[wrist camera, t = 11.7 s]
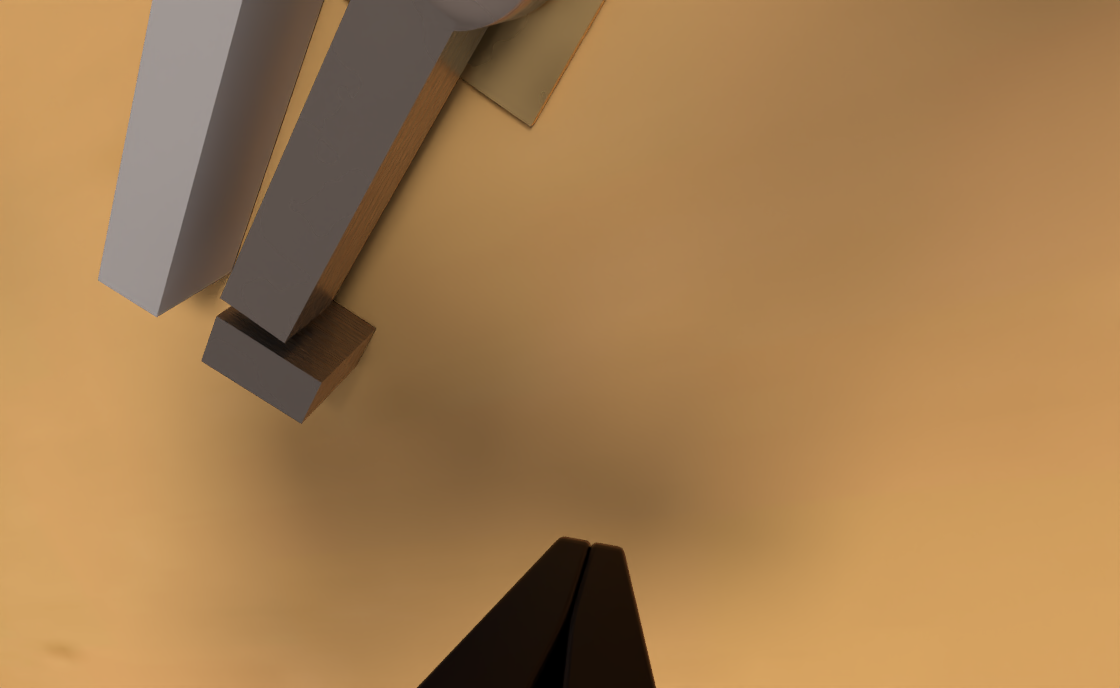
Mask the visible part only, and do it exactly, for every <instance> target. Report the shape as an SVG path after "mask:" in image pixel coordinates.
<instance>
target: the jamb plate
mask: <svg viewBox="0 0 1120 688" xmlns="http://www.w3.org/2000/svg"><path fill="white" fill-rule="evenodd" d="M604 2H605V0H547V1H546V2H545V3H543V4H542V5H541V6H540V7H539V8H537V9H536V10H534V11H533V12H531V13H529V14H528V15H525V16H523V17H521V18H518V19H514V20H510V21H506V22H502V23H498V24H494V25H490V26H488V28H487V30H486V31H485V33H484V35H483V37H482V38H481V40H480V42H479V44H478V45H477V47H476V49H475V51H474V52H473V54H472V56H471V58H470V59H469V61H468V63H467V65H466V66H465V68H464V70H463V72H462V73H461V75H460V78H462V79H463V80H464V81H466V82H467V83H469V84H470V85H472V86H473V87H474V88H476V89H477V90H479V91H480V92H482V93H483V94H484V95H486V96H487V97H489V98H490V99H492V100H493V101H494V102H496V103H497V104H499V105H500V106H502V107H503V108H504V109H506V110H507V111H509V112H510V113H512V114H513V115H514V116H516V117H517V118H519V119H520V120H522V121H523V122H524V123H526V124H527V125H529V126H530V127H531V126H532V125H533V124H534V123H535V122H536V120H537V118H538V116H539V115H540V113H541V111H542V110H543V108H544V106H545V104H546V103H547V101H548V99H549V97H550V96H551V94H552V92H553V90H554V89H555V87H556V85H557V83H558V82H559V80H560V78H561V76H562V75H563V73H564V71H565V70H566V68H567V66H568V64H569V63H570V61H571V59H572V57H573V56H574V54H575V52H576V50H577V49H578V47H579V45H580V43H581V42H582V40H583V38H584V37H585V35H586V33H587V31H588V30H589V28H590V26H591V24H592V23H593V21H594V19H595V17H596V16H597V14H598V12H599V10H600V9H601V7H602V5H603V3H604Z"/></svg>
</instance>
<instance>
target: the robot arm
mask: <svg viewBox="0 0 1120 688" xmlns="http://www.w3.org/2000/svg"><path fill="white" fill-rule="evenodd" d="M417 688H656V686H655V681H654V677H653V673H652V669H651V664H650V660H649V656H648V651H647V647H646V643H645V639H644V634H643V630H642V626H641V621H640V617H639V613H638V609H637V604H636V600H635V596H634V591H633V587H632V583H631V579H630V574H629V570H628V566H627V561H626V557H625V553H624V551H623V549H622V548H621V547H619V546H613V545H608V544H603V543H594V544H593V545H592V546H591V544H590V543H589V542H588V541H586V540H581V539H576V538H570V537H561V538H559V539H558V540H557V541H556V542H555V543H554V544H553V545H552V546H551V547H550V548H549V549H548V550H547V551H546V552H545V553H544V554H543V556H542V557H541V558H540V559H539V560H538V561H537V562H536V563H535V564H534V565H533V566H532V567H531V568H530V569H529V570H528V571H527V572H526V573H525V574H524V576H523V577H522V578H521V579H520V580H519V581H518V582H517V583H516V584H515V585H514V586H513V587H512V588H511V589H510V590H509V591H508V592H507V593H506V595H505V596H504V597H503V598H502V599H501V600H500V601H499V602H498V603H497V604H496V605H495V606H494V607H493V608H492V609H491V610H490V611H489V612H488V613H487V615H486V616H485V617H484V618H483V619H482V620H481V621H480V622H479V623H478V624H477V625H476V626H475V627H474V628H473V629H472V630H471V631H470V632H469V633H468V635H467V636H466V637H465V638H464V639H463V640H462V641H461V642H460V643H459V644H458V645H457V646H456V647H455V648H454V649H453V650H452V651H451V652H450V654H449V655H448V656H447V657H446V658H445V659H444V660H443V661H442V662H441V663H440V664H439V665H438V666H437V667H436V668H435V669H434V670H433V671H432V672H431V674H430V675H429V676H428V677H427V678H426V679H425V680H424V681H423V682H422V683H421V684H420V685H419V686H418V687H417Z"/></svg>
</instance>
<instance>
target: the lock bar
mask: <svg viewBox="0 0 1120 688" xmlns="http://www.w3.org/2000/svg"><path fill="white" fill-rule="evenodd" d="M546 1H547V0H350V2H349V4H348V7H347V9H346V11H345V14H344V16H343V18H342V20H341V23H340V25H339V27H338V30H337V32H336V34H335V36H334V39H333V41H332V43H331V46H330V48H329V50H328V53H327V55H326V57H325V59H324V62H323V64H322V66H321V69H320V71H319V73H318V75H317V78H316V80H315V82H314V85H313V87H312V89H311V91H310V94H309V96H308V98H307V101H306V103H305V105H304V107H303V110H302V112H301V114H300V117H299V119H298V121H297V123H296V126H295V128H294V130H293V133H292V135H291V137H290V139H289V142H288V144H287V146H286V149H285V151H284V153H283V155H282V158H281V160H280V162H279V165H278V167H277V169H276V172H275V174H274V176H273V178H272V181H271V183H270V185H269V188H268V190H267V192H266V194H265V197H264V199H263V201H262V204H261V206H260V208H259V210H258V213H257V215H256V217H255V220H254V222H253V224H252V226H251V229H250V231H249V233H248V236H247V238H246V240H245V242H244V245H243V247H242V249H241V252H240V254H239V256H238V258H237V261H236V263H235V265H234V268H233V270H232V272H231V275H230V277H229V279H228V281H227V284H226V286H225V288H224V291H223V293H222V295H221V297H220V298H221V299H222V300H224V301H225V302H227V303H228V304H229V305H231V306H232V307H234V308H235V309H237V310H238V311H239V312H241V313H242V314H244V315H245V316H247V317H248V318H249V319H251V320H252V321H254V322H255V323H256V324H258V325H259V326H261V327H262V328H264V329H265V330H266V331H268V332H269V333H271V334H272V335H274V336H275V337H276V338H278V339H279V340H281V341H282V342H283V343H285V342H287V341H288V340H289V339H290V338H291V337H293V336H294V335H295V334H296V333H297V332H299V331H300V330H301V329H302V328H303V327H305V326H306V325H307V324H308V323H309V322H311V321H312V320H313V319H314V318H315V317H317V316H318V315H319V314H320V313H321V312H323V311H324V310H325V309H326V308H327V307H329V305H330V304H331V302H332V300H333V298H334V297H335V295H336V293H337V291H338V290H339V288H340V286H341V284H342V283H343V281H344V279H345V277H346V276H347V274H348V272H349V270H350V269H351V267H352V265H353V263H354V261H355V260H356V258H357V256H358V254H359V253H360V251H361V249H362V247H363V246H364V244H365V242H366V240H367V239H368V237H369V235H370V233H371V232H372V230H373V228H374V226H375V225H376V223H377V221H378V219H379V218H380V216H381V214H382V212H383V211H384V209H385V207H386V205H387V204H388V202H389V200H390V198H391V196H392V195H393V193H394V191H395V189H396V188H397V186H398V184H399V182H400V181H401V179H402V177H403V175H404V174H405V172H406V170H407V168H408V167H409V165H410V163H411V161H412V160H413V158H414V156H415V154H416V153H417V151H418V149H419V147H420V146H421V144H422V142H423V140H424V139H425V137H426V135H427V133H428V131H429V130H430V128H431V126H432V124H433V123H434V121H435V119H436V117H437V116H438V114H439V112H440V110H441V109H442V107H443V105H444V103H445V102H446V100H447V98H448V96H449V95H450V93H451V91H452V89H453V88H454V86H455V84H456V82H457V81H458V79H459V77H460V75H461V73H462V72H463V70H464V68H465V66H466V65H467V63H468V61H469V59H470V58H471V56H472V54H473V52H474V51H475V49H476V47H477V45H478V44H479V42H480V40H481V38H482V37H483V35H484V33H485V31H486V30H487V28H488V26H490V25H494V24H498V23H502V22H506V21H510V20H514V19H518V18H521V17H523V16H525V15H528V14H529V13H531V12H533V11H534V10H536V9H537V8H539V7H540V6H541V5H542V4H543V3H545V2H546Z"/></svg>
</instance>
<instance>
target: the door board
mask: <svg viewBox="0 0 1120 688" xmlns="http://www.w3.org/2000/svg"><path fill="white" fill-rule="evenodd" d="M322 3H323V0H153V1H152V6H151V11H150V16H149V21H148V27H147V32H146V37H145V42H144V47H143V52H142V57H141V62H140V68H139V73H138V78H137V83H136V88H135V93H134V98H133V103H132V108H131V114H130V119H129V124H128V129H127V134H126V139H125V144H124V149H123V155H122V160H121V165H120V170H119V175H118V180H117V185H116V190H115V196H114V201H113V206H112V211H111V216H110V221H109V226H108V231H107V236H106V242H105V247H104V252H103V257H102V262H101V267H100V272H99V277H98V281H100V282H102V283H103V284H105V285H106V286H108V287H110V288H111V289H113V290H114V291H116V292H117V293H119V294H121V295H122V296H124V297H125V298H127V299H129V300H130V301H132V302H133V303H135V304H137V305H138V306H140V307H141V308H143V309H144V310H146V311H148V312H149V313H151V314H152V315H154V316H156V317H158V316H160V315H161V314H163V313H164V312H166V311H168V310H169V309H171V308H173V307H174V306H176V305H178V304H179V303H181V302H183V301H184V300H186V299H188V298H189V297H191V296H192V295H194V294H196V293H197V292H199V291H201V290H202V289H204V288H206V287H207V286H209V285H211V284H212V283H214V282H216V281H217V280H219V279H221V278H222V277H224V276H225V275H227V274H229V273H230V272H232V269H233V266H234V263H235V260H236V257H237V254H238V251H239V248H240V245H241V242H242V239H243V236H244V233H245V230H246V227H247V224H248V221H249V218H250V215H251V212H252V210H253V207H254V204H255V201H256V198H257V195H258V192H259V189H260V186H261V183H262V180H263V177H264V174H265V171H266V168H267V165H268V162H269V159H270V156H271V153H272V150H273V148H274V145H275V142H276V139H277V136H278V133H279V130H280V127H281V124H282V121H283V118H284V115H285V112H286V109H287V106H288V103H289V100H290V97H291V94H292V91H293V88H294V86H295V83H296V80H297V77H298V74H299V71H300V68H301V65H302V62H303V59H304V56H305V53H306V50H307V47H308V44H309V41H310V38H311V35H312V32H313V29H314V26H315V23H316V21H317V18H318V15H319V12H320V9H321V6H322Z"/></svg>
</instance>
